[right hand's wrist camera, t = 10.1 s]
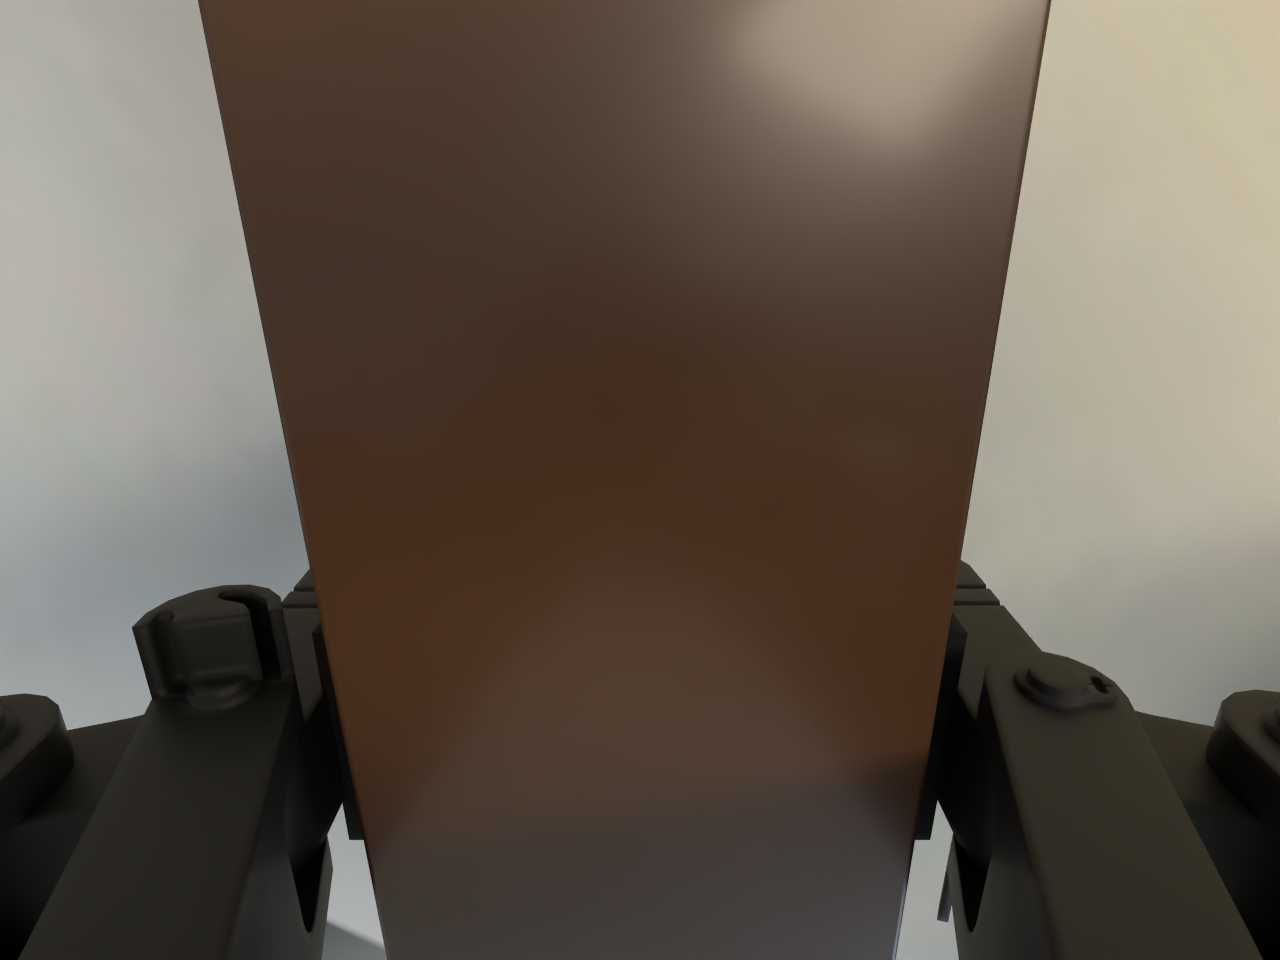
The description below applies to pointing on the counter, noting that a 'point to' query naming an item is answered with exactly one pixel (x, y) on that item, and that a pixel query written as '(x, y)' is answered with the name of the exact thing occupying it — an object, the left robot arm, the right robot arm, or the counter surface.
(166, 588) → the counter surface
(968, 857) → the right robot arm
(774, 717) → the walnut beam
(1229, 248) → the counter surface
